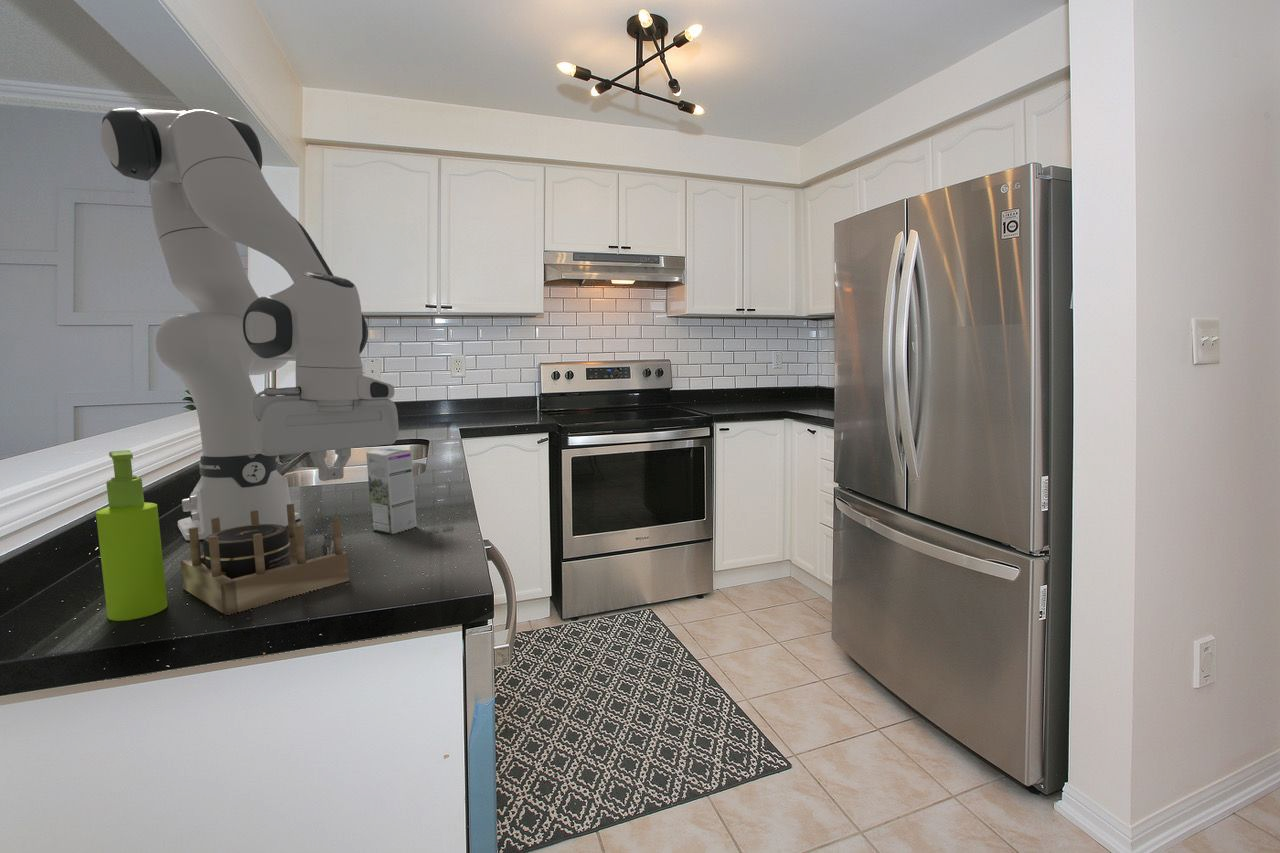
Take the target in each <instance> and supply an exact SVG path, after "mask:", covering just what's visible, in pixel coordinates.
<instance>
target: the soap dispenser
mask: <svg viewBox="0 0 1280 853" xmlns="http://www.w3.org/2000/svg"><path fill="white" fill-rule="evenodd" d="M108 455H109V458H111V459H112V460H111V461H112V463H113V474H114V477H111V478H110V479H109V480H107V481H106V483H105V484H106V485H105V486H106V493H107V500H108V506H107V507H104V508H100V509H98V510H97V511H96V512H95V517H96V518H95V520H96V527H97V536H98V546H99V555H100V562H101V572H102V582H103V586H104V587H103V590H104V598H105V599H104V600H105V606H106V607H105V608H106V616H107V619H108V620H109V621H115V622H116V621H117V622H121V621H123V622H125V621H132V620H133V621H134V620H137V619H141V618H146V617H150V616H152V615H156V614H157V613H160V612H163V611H164V610H166V608H167V607H168V598H167V597H168V596H167V587H166V578H165V568H164V567H165V566H164V559H163V549H162V548H163V547H162V538H161V528H160V519H159V508H158V504H157V503H154V502H146V501H145V496H144V488H143V479H142V477H139V476H137V475H135V474H133V466H132V460H133V458H134V455H133V453H132V451H131V450H129V449H126V450H125V449H123V450H115V451H109V453H108Z"/></svg>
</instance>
